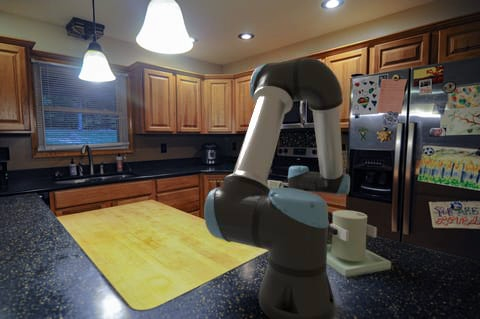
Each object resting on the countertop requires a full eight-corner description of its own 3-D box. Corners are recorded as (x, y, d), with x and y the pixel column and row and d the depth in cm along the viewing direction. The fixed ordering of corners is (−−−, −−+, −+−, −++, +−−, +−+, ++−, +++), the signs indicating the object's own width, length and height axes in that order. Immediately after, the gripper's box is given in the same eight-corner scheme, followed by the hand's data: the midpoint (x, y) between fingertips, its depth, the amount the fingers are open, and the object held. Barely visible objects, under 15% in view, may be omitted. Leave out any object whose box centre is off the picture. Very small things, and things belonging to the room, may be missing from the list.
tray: (345, 277, 64) (345, 269, 64) (310, 253, 78) (310, 247, 78) (390, 269, 69) (391, 261, 68) (350, 247, 83) (350, 241, 83)
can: (370, 262, 68) (372, 218, 67) (333, 259, 70) (335, 215, 69) (361, 248, 77) (362, 209, 76) (329, 246, 79) (330, 207, 78)
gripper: (336, 220, 93) (391, 243, 72) (284, 226, 86) (327, 253, 65) (337, 200, 93) (392, 217, 72) (284, 204, 86) (328, 224, 65)
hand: (361, 234), depth 68 cm, fingers closed on can, 9 cm apart
